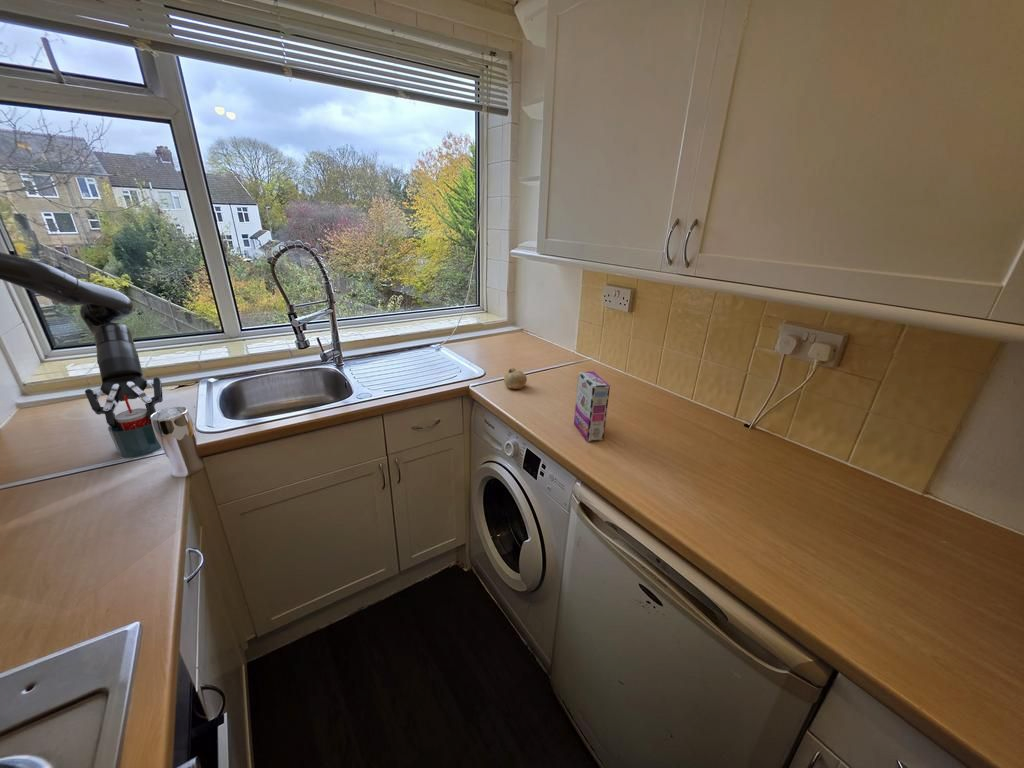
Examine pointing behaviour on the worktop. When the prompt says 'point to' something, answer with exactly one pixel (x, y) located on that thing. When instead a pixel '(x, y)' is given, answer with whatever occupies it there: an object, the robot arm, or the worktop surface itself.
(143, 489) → the worktop surface
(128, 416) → the beverage cup
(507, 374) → the onion
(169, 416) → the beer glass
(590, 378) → the candy bar box
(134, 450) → the teal round pot
